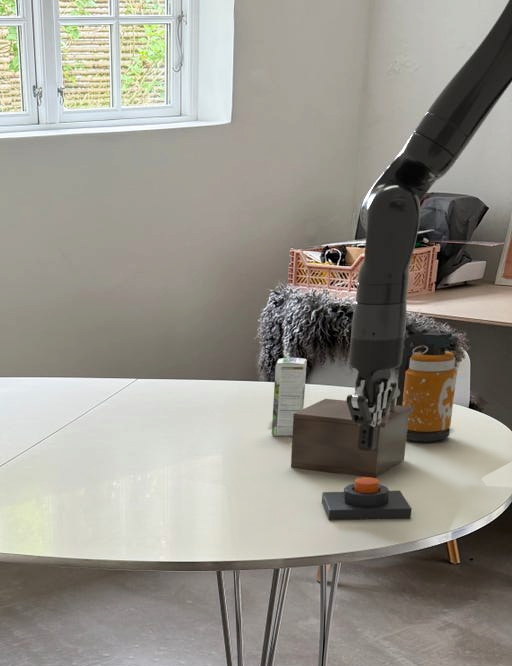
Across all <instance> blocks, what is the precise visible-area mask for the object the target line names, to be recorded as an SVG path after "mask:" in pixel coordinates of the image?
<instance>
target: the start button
mask: <svg viewBox="0 0 512 666" xmlns="http://www.w3.org/2000/svg"><path fill="white" fill-rule="evenodd" d="M354 484H355V487H354V491H356V492H359V493H375V492H379V484H380V479H378V478H371V477H362V476H361V477H357V478H355V480H354Z"/></svg>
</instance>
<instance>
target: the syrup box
mask: <svg viewBox="0 0 512 666" xmlns="http://www.w3.org/2000/svg"><path fill="white" fill-rule="evenodd" d="M307 361H308V359H306V358H302V357H284V358H278V359H277V361H276V364H275V369H274V370H275V371H274V384H273V385H274V387H273V402H272V403H273V405H272V421H271V423H272V424H271V436H272V437H276V436H277V437H281V436H282V437H292V435H293V414H294V413H296V412H298V411H300V410H302V409H304V406H305V392H306V379H307V377H306V376H307Z"/></svg>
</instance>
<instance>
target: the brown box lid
mask: <svg viewBox="0 0 512 666" xmlns="http://www.w3.org/2000/svg"><path fill="white" fill-rule="evenodd" d="M399 395H400V390H399V389H398V388H397V387H396V390H395V392H394V395H393V398H392V400H391V403H390V406H389V409H388V411H387V414H386V417H385V418H381V422H380V424H379V425H378V427H382V428H385V427H387V426H389V425H390V424H392V423H394V422H396V421H397V420H399V419H401V418H403V417H405V416H406V415H408V414H410V413H412V412H413V411H414V407H410V406H399V405H396V398H397V397H398V396H399ZM293 418H298V419H308V420H317V421H326V422H336V423H345V424H354V423H353V421H352V417H351V414H350V411H349V408H348V405H347V401H346V399H345V400H344V399H333V398H324V399H321V400H320V401H317V402H315V403H313V404H311V405H309V406H307V407H305V408H303V409H302V410H300V411H298V412H296V413H294V414H293ZM354 425H358V424H354Z"/></svg>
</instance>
